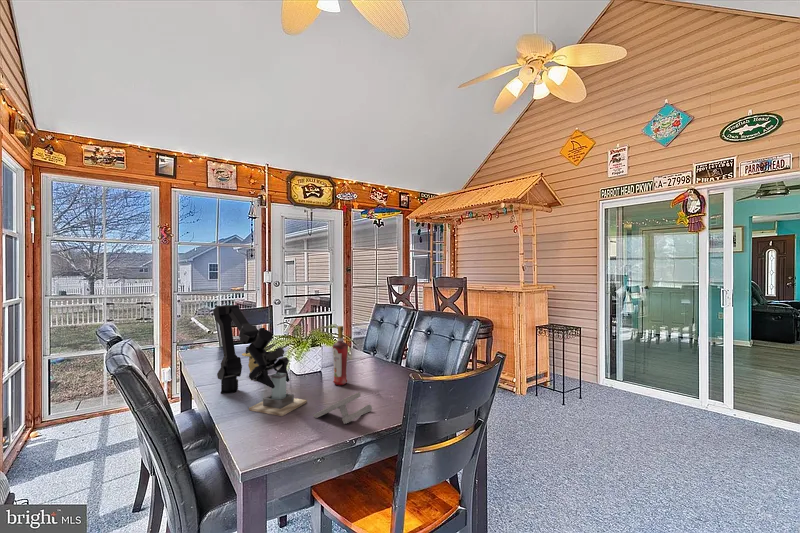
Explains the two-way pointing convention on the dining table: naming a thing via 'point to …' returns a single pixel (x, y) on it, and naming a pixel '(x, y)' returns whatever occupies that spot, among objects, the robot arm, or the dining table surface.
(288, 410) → the post socket
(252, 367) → the wall sconce
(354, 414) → the door handle
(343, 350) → the liquor
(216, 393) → the dining table surface
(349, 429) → the dining table surface
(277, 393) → the rail end post
